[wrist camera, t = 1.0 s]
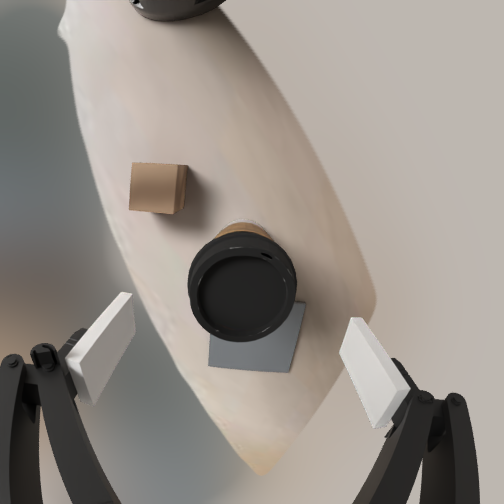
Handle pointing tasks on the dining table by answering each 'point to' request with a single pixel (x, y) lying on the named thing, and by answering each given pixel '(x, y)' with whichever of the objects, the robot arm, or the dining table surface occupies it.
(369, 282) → the dining table surface
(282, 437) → the dining table surface
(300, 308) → the slate coaster
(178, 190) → the walnut block
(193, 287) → the coffee cup
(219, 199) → the dining table surface
